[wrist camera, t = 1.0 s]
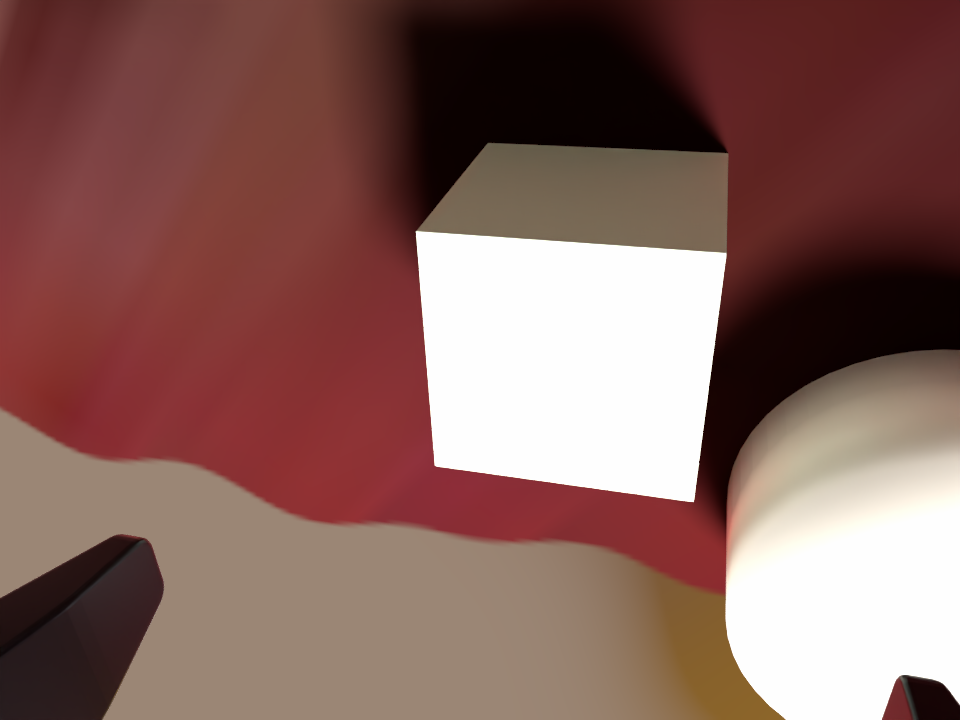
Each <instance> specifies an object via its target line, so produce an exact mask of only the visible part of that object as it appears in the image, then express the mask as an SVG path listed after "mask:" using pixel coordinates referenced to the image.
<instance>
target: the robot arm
mask: <svg viewBox="0 0 960 720" xmlns="http://www.w3.org/2000/svg"><path fill="white" fill-rule="evenodd" d="M163 591H164V581H163V578H162V575H161V572H160V569H159V566H158V563H157V560H156V556H155V554H154V550H153V548H152V545H151V543H150V542H149V541H148V540H147V539H145V538H141V537H136V536H130V535H123V534H120V535H115V536H113V537H110V538H109V539H107V540H105V541H103V542H101V543H99V544H98V545H96V546H94V547H92V548H90V549H89V550H87V551H85V552H83V553H81V554H79V555H78V556H76V557H74V558H72V559H70V560H69V561H67V562H65V563H63V564H61V565H59V566H58V567H56V568H54V569H52V570H50V571H49V572H47V573H45V574H43V575H41V576H40V577H38V578H36V579H34V580H32V581H31V582H28V583H27V584H25V585H23V586H21V587H20V588H18V589H16V590H14V591H12V592H10V593H8V594H7V595H5V596H3V597H1V598H0V720H102V719H103V718H104V716H105V714H106V712H107V711H108V709H109V707H110V705H111V703H112V702H113V700H114V698H115V696H116V694H117V692H118V690H119V688H120V686H121V684H122V682H123V679H124V677H125V675H126V673H127V671H128V669H129V667H130V665H131V663H132V661H133V659H134V657H135V655H136V652H137V650H138V648H139V646H140V644H141V642H142V640H143V637H144V636H145V634H146V632H147V629H148V627H149V625H150V623H151V621H152V619H153V617H154V615H155V613H156V611H157V609H158V606H159V604H160V602H161V600H162V596H163ZM881 720H960V703H959V702H958V701H957V699H956V698H955V697H954V695H953V694H952V693H951V691H950V690H949V689H948V688H947V686H945V685H944V684H943V683H942V682H940V681H938V680H935V679H930V678H925V677H919V676H914V675H908V674H902V675H900V676H898V678H897V679H896V680H895V682H894V685H893V688H892V691H891V693H890V696H889V699H888V702H887V705H886V707H885V710H884V713H883V716H882V719H881Z"/></svg>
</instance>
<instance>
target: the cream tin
mask: <svg viewBox="0 0 960 720" xmlns="http://www.w3.org/2000/svg"><path fill="white" fill-rule="evenodd" d="M726 624H727V633H728V639H729V642H730V646H731V649H732V652H733V655H734V657H735V659H736V661H737V663H738V665H739V667H740V669H741V671H742V673H743V674H744V676H745V677H746V679H747V680H748V681H749V683H750V684H751V685H752V687H753V688H754V690H755V691H756V692H757V693H758V694H759V695H760V696H761V697H762V698H763V699H764V700H765V701H766V702H767V703H768V704H769V705H770V706H771V707H772V708H773V709H775V710H776V711H777V712H778V713H779V714H781V715H782V716H783V717H784V718H785V719H787V720H881V719H882V716H883V713H884V710H885V707H886V705H887V702H888V699H889V696H890V693H891V691H892V688H893V685H894V682H895V680H896V679H897V678H898V676H900V675H902V674H908V675H914V676H919V677H925V678H930V679H935V680H938V681H940V682H942V683H943V684H944V685H945V686H947V688H948V689H949V690H950V691H951V693H952V694H953V695H954V697H955V698H956V699H957V701H958V702H959V703H960V350H947V349H942V350H925V351H912V352H905V353H899V354H893V355H887V356H882V357H878V358H874V359H870V360H867V361H863V362H859V363H856V364H853V365H850V366H847V367H845V368H842V369H840V370H837V371H834V372H832V373H829V374H827V375H825V376H823V377H821V378H819V379H817V380H815V381H813V382H812V383H810V384H808V385H806V386H804V387H803V388H801V389H800V390H798V391H797V392H795V393H794V394H792V395H791V396H789V397H788V398H786V399H785V400H783V401H782V402H781V403H780V404H779V405H778V406H776V407H775V408H774V409H773V410H772V411H771V412H770V413H768V414H767V415H766V416H765V417H764V418H763V420H762V421H761V422H760V423H759V424H758V425H757V426H756V428H755V429H754V430H753V431H752V432H751V434H750V435H749V437H748V438H747V440H746V442H745V443H744V445H743V446H742V448H741V449H740V451H739V454H738V456H737V458H736V461H735V463H734V465H733V468H732V472H731V476H730V480H729V484H728V494H727V540H726Z"/></svg>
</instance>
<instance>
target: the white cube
mask: <svg viewBox="0 0 960 720" xmlns="http://www.w3.org/2000/svg"><path fill="white" fill-rule="evenodd" d="M727 196H728V153H711V152H688V151H665V150H642V149H619V148H595V147H572V146H549V145H526V144H503V143H487V145H486V146H485V147H484V148H483V150H482V151H481V152H480V153H479V154H478V156H477V157H476V158H475V159H474V161H473V162H472V163H471V164H470V166H469V167H468V168H467V169H466V171H465V172H464V173H463V174H462V175H461V177H460V178H459V179H458V180H457V182H456V183H455V184H454V185H453V187H452V188H451V189H450V190H449V191H448V193H447V194H446V195H445V196H444V198H443V199H442V200H441V201H440V203H439V204H438V205H437V206H436V207H435V209H434V210H433V211H432V212H431V214H430V215H429V216H428V217H427V219H426V220H425V221H424V222H423V223H422V225H421V226H420V227H419V228H418V230H417V231H416V237H417V249H418V262H419V274H420V286H421V298H422V311H423V323H424V335H425V347H426V360H427V372H428V384H429V397H430V409H431V421H432V433H433V446H434V458H435V466H439V467H446V468H453V469H460V470H468V471H475V472H482V473H489V474H496V475H503V476H511V477H518V478H525V479H532V480H539V481H547V482H554V483H561V484H568V485H575V486H582V487H590V488H597V489H604V490H611V491H618V492H626V493H633V494H640V495H647V496H654V497H661V498H669V499H676V500H683V501H690V502H694V495H695V488H696V480H697V473H698V465H699V458H700V450H701V442H702V435H703V427H704V420H705V412H706V404H707V397H708V389H709V382H710V374H711V367H712V359H713V351H714V344H715V336H716V329H717V321H718V314H719V306H720V298H721V291H722V283H723V276H724V268H725V260H726V250H727Z"/></svg>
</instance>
